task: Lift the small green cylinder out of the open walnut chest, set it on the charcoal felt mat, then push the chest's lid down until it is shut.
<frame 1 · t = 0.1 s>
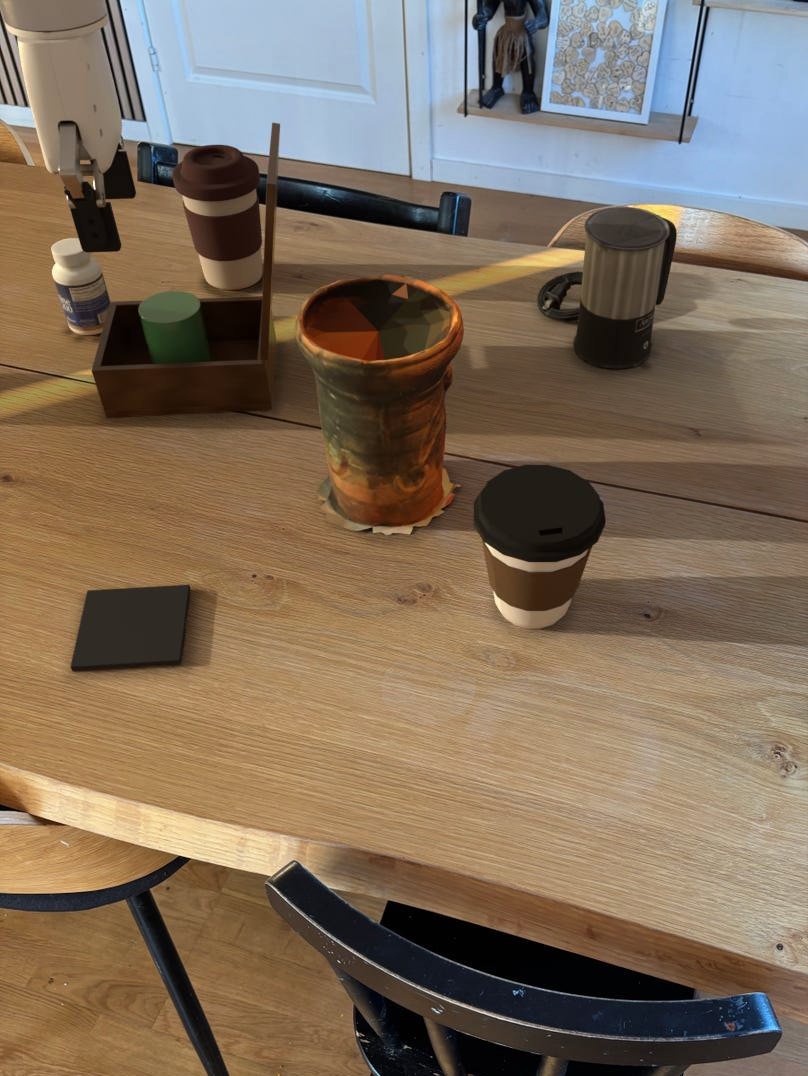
hand: (110, 223, 89), 23 cm above the table, tool pointing down, fingers open, 9 cm apart
milk frother: (591, 333, 121), on the table
green cylinder: (184, 371, 113), point 1 cm above the table, touching chest
coffee cup: (234, 278, 128), on the table
pill bottle: (93, 325, 121), on the table
coffee cup 2: (531, 605, 91), on the table
mat: (133, 628, 88), on the table
vessel: (391, 497, 101), on the table
lid: (270, 243, 103), point 15 cm above the table, hinge at 100.0°
chest: (195, 377, 114), on the table
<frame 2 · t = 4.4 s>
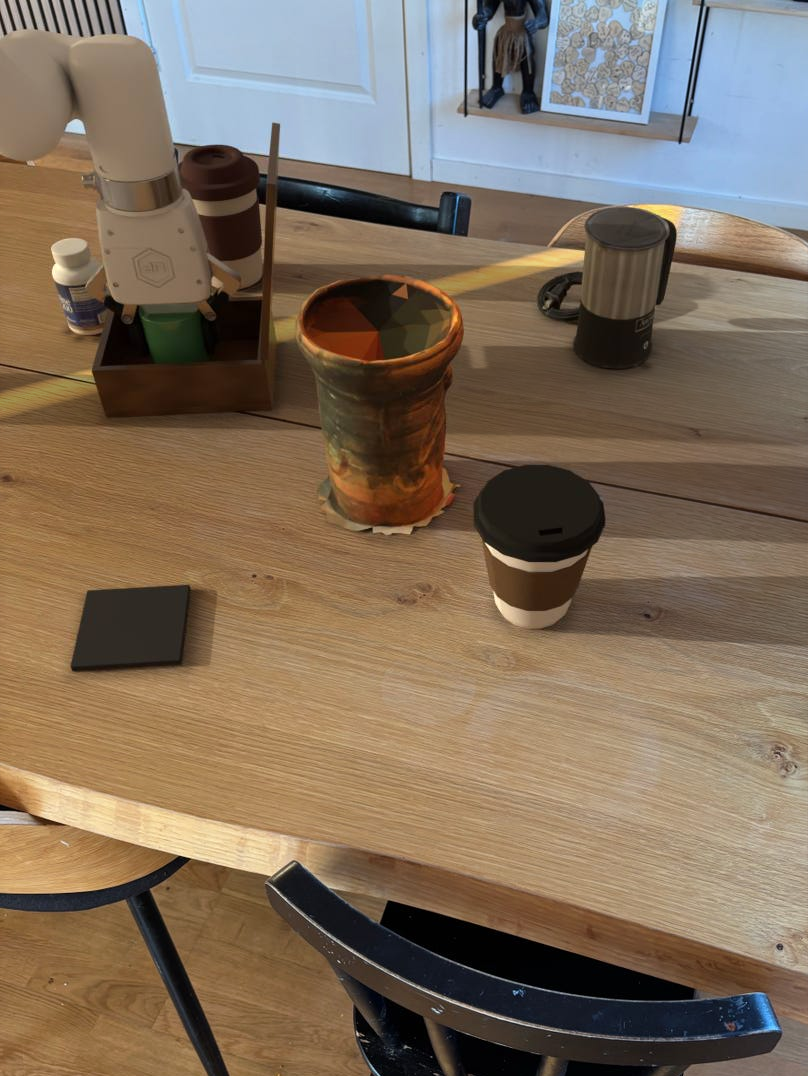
hand: (179, 347, 111), 4 cm above the table, tool pointing down, fingers closed on green cylinder, 6 cm apart
green cylinder: (184, 371, 113), point 1 cm above the table, touching chest, gripper
everything else where it was.
when the fingers open (4 cm above the table, at t = 13.0 s): green cylinder stays where it is, resting on mat.
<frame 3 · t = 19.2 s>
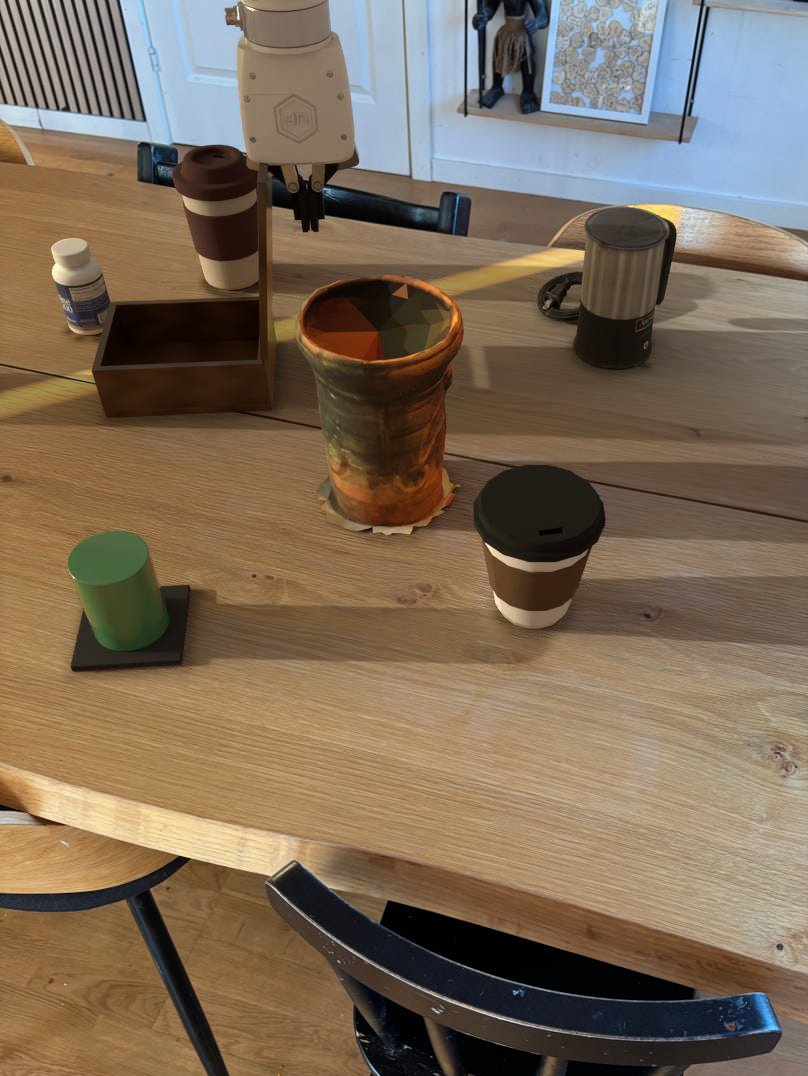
hand: (310, 225, 102), 17 cm above the table, tool pointing down, fingers closed
green cylinder: (131, 623, 88), point 1 cm above the table, touching mat
lid: (265, 243, 103), point 15 cm above the table, hinge at 97.4°, touching gripper
everything else where it was.
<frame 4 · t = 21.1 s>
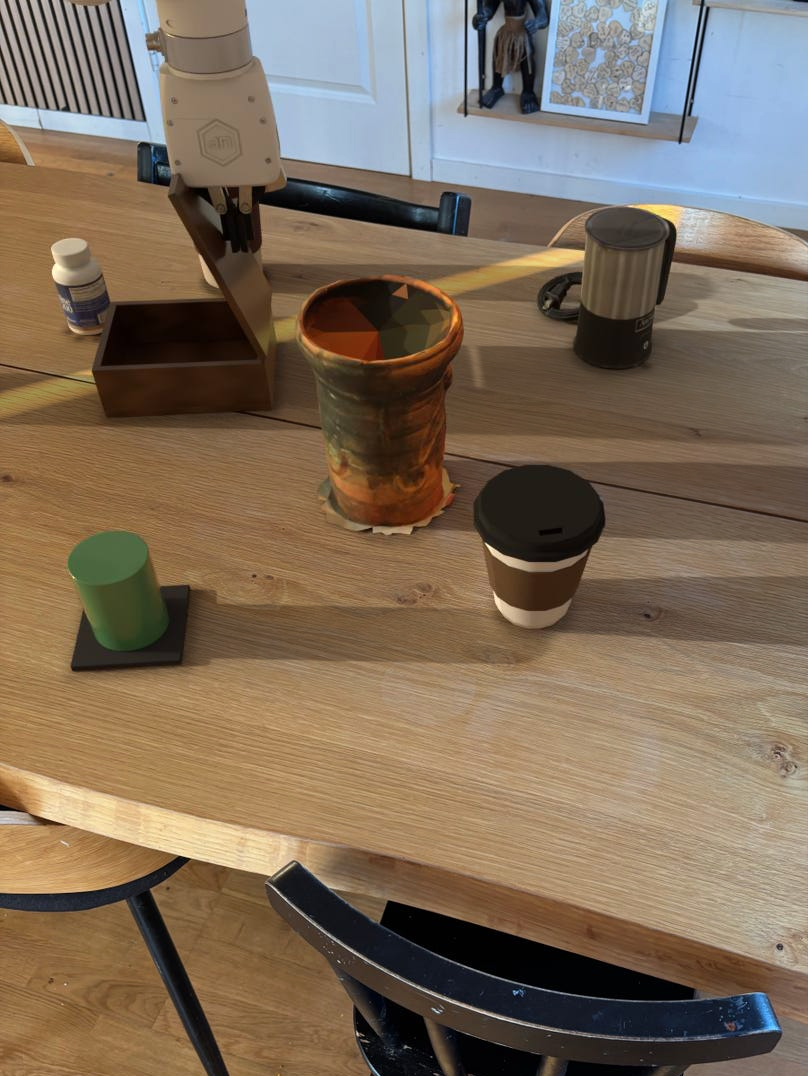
hand: (241, 246, 103), 15 cm above the table, tool pointing down, fingers closed
lid: (225, 248, 103), point 15 cm above the table, hinge at 71.5°, touching gripper
everything else where it was.
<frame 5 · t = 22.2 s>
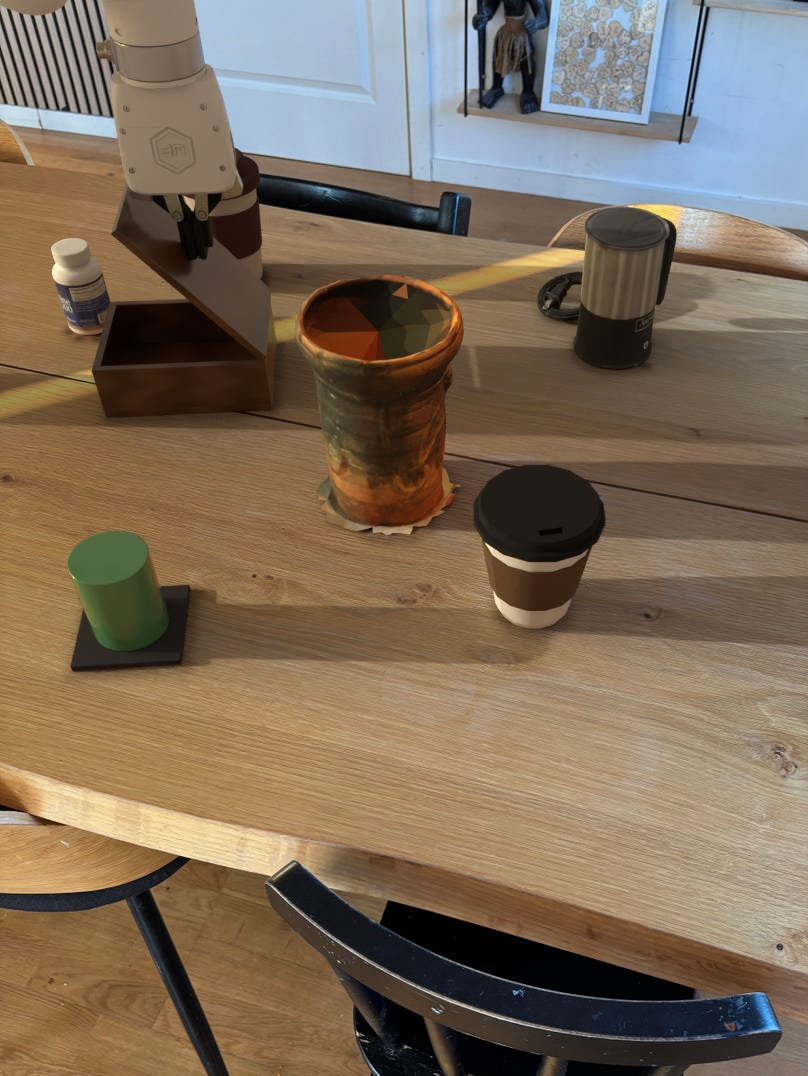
hand: (199, 253, 103), 15 cm above the table, tool pointing down, fingers closed
lid: (198, 264, 104), point 13 cm above the table, hinge at 50.2°, touching gripper
everything else where it was.
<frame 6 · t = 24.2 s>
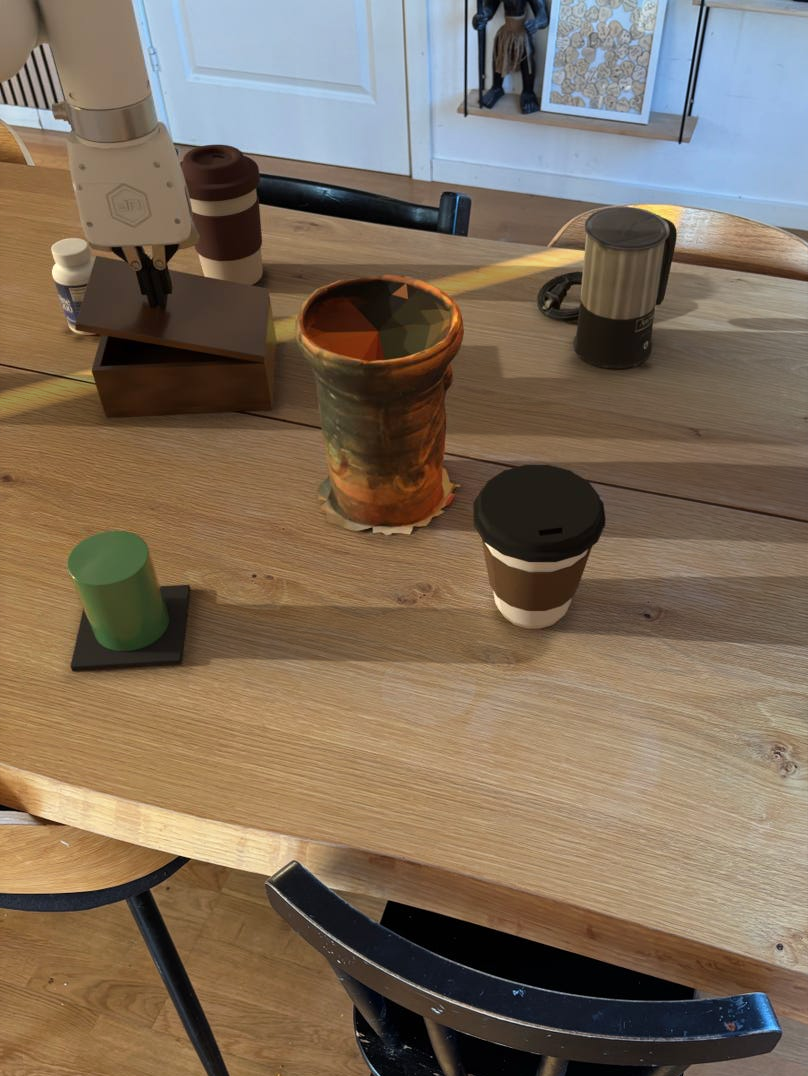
hand: (159, 299, 106), 10 cm above the table, tool pointing down, fingers closed
lid: (178, 308, 107), point 9 cm above the table, hinge at 14.4°, touching gripper
everything else where it was.
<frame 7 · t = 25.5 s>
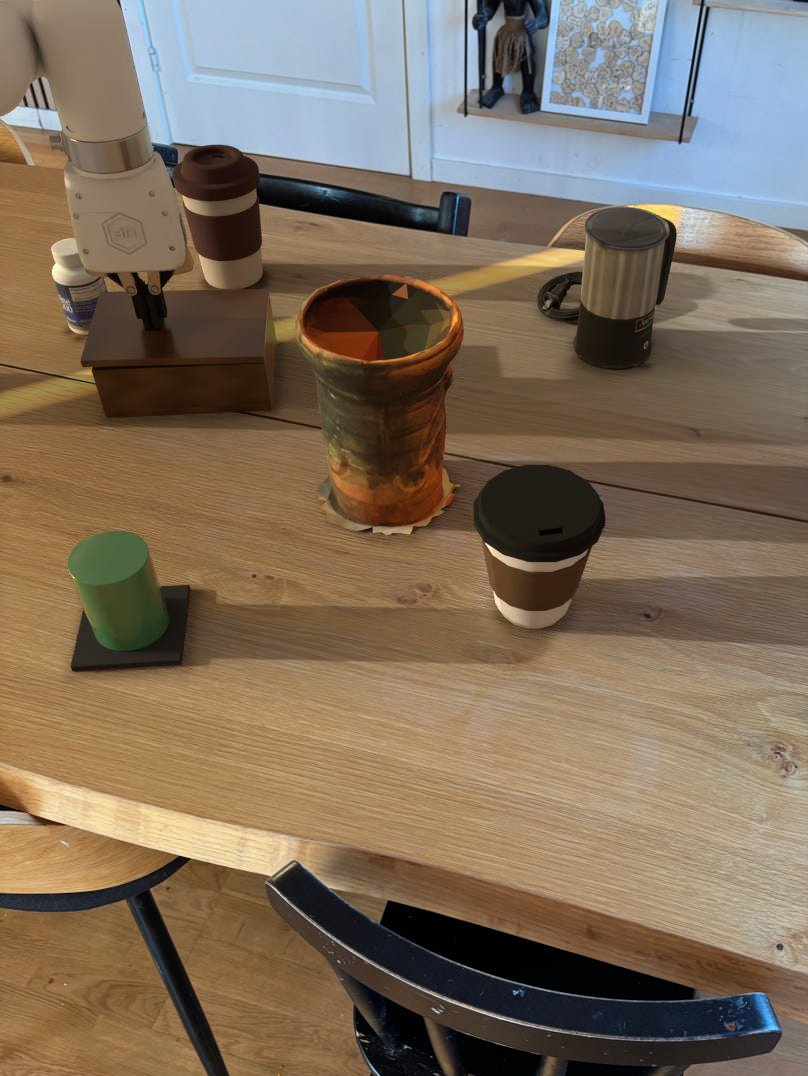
hand: (154, 322, 108), 7 cm above the table, tool pointing down, fingers closed
lid: (179, 326, 109), point 6 cm above the table, hinge at 1.2°, touching gripper
everything else where it was.
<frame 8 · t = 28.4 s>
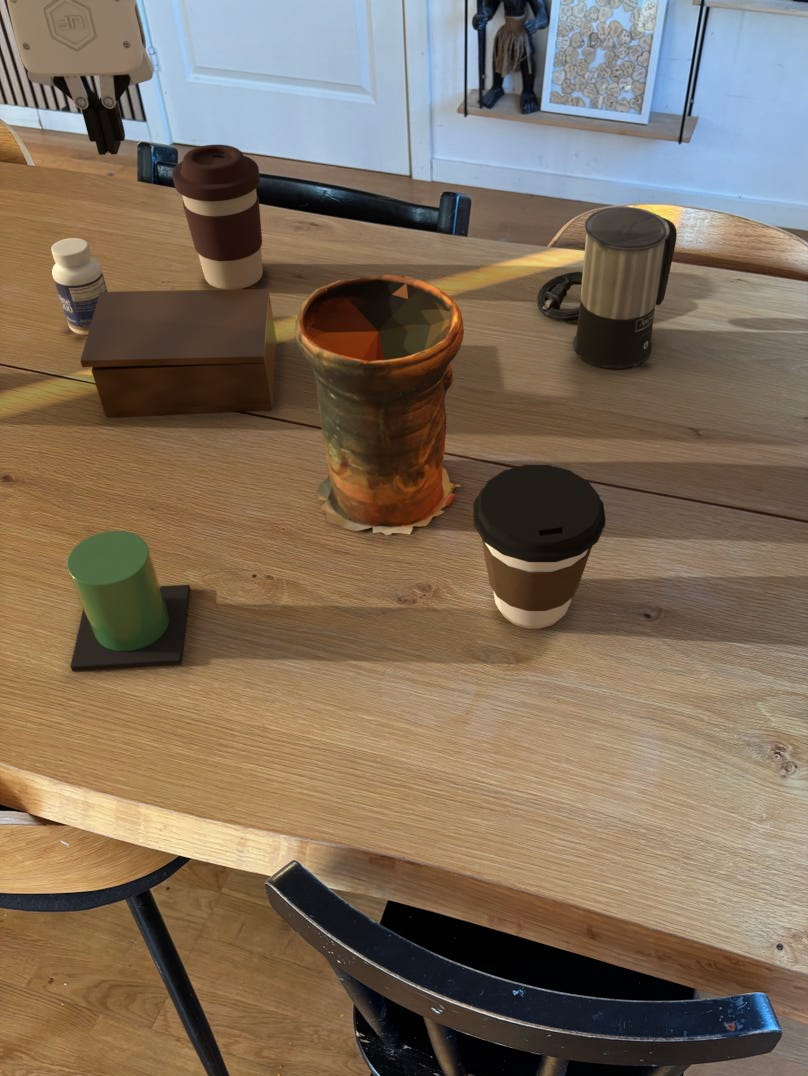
hand: (110, 148, 95), 25 cm above the table, tool pointing down, fingers closed
lid: (179, 326, 109), point 6 cm above the table, hinge at 1.2°
everything else where it was.
at the end: green cylinder inside the target area on the mat (0.0 cm from its centre), point 0.6 cm above the mat's base; green cylinder tilted 0°; lid at +1° (first picture: +100°) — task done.
